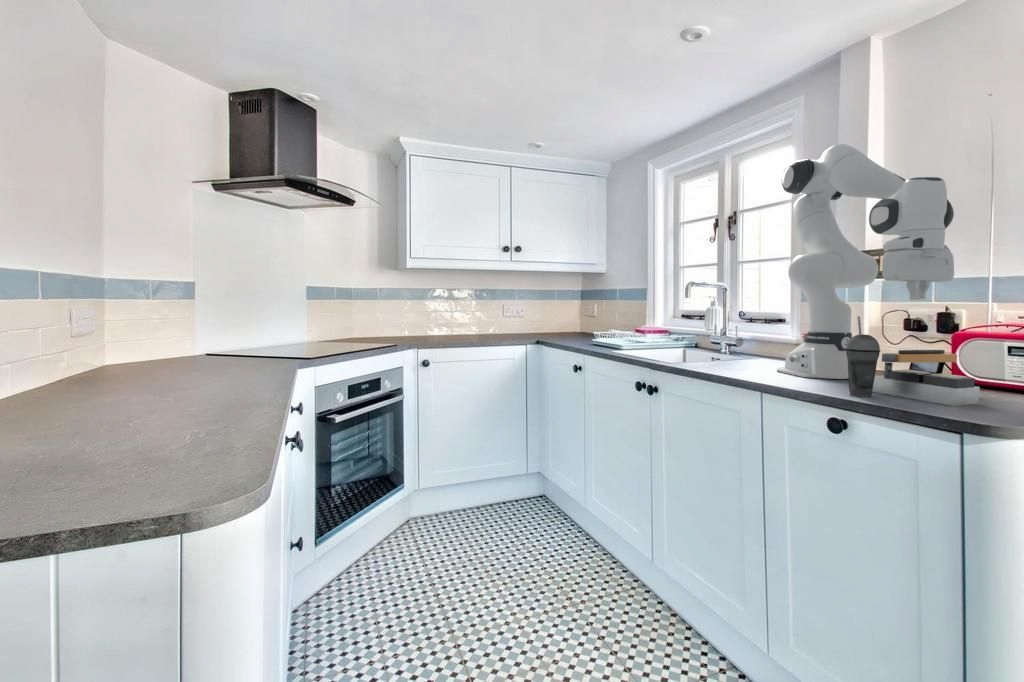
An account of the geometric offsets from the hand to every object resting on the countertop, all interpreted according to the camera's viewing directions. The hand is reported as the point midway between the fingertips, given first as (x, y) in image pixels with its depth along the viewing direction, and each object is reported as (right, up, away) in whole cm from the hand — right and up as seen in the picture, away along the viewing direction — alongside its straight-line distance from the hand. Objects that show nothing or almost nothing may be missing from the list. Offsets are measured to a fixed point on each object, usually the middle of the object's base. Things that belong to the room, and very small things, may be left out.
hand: (917, 299), depth 124 cm
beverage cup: (-13, -24, +2) cm, 27 cm away
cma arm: (+6, -16, +8) cm, 18 cm away
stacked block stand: (+1, -24, 0) cm, 24 cm away
